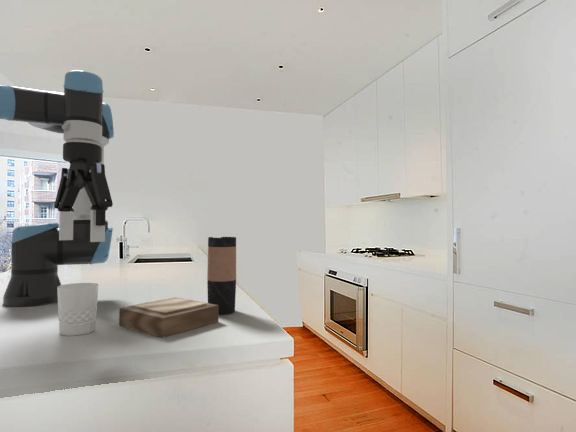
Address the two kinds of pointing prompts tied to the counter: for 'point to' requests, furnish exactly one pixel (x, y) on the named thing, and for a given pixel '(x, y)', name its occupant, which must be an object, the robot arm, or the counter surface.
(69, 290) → the white cup
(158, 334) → the walnut riser
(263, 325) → the counter surface
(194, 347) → the counter surface
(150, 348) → the counter surface
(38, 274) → the robot arm
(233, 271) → the travel mug
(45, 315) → the counter surface
